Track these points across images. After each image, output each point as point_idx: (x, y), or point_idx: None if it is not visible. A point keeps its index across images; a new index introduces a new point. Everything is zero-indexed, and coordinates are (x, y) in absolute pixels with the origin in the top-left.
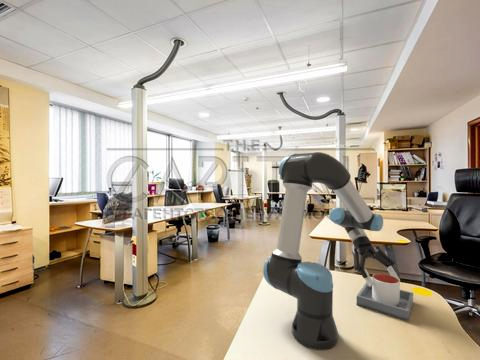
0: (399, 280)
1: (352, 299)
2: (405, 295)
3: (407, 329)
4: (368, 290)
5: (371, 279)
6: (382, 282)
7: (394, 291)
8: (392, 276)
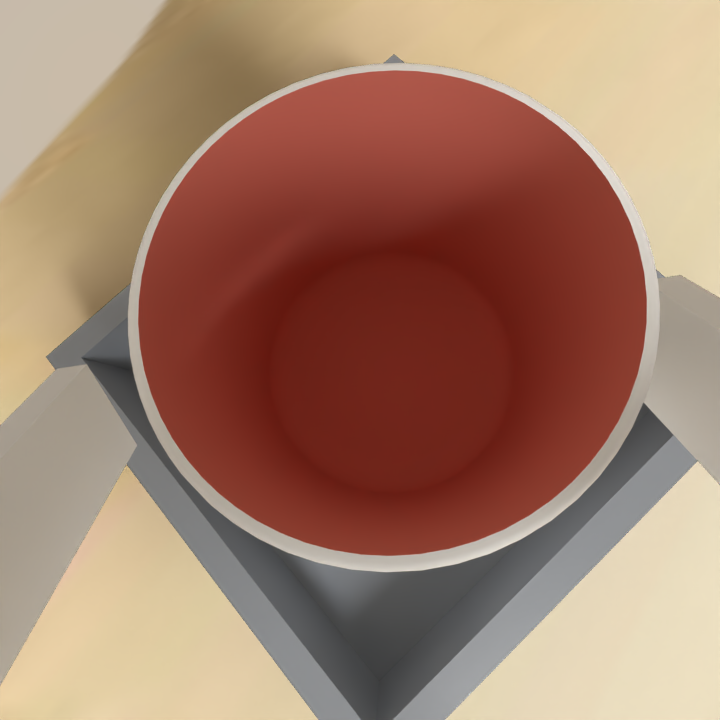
0: (70, 375)
1: (684, 507)
2: (132, 396)
3: (468, 54)
4: (413, 638)
5: (711, 320)
6: (574, 132)
7: (381, 160)
8: (147, 376)
